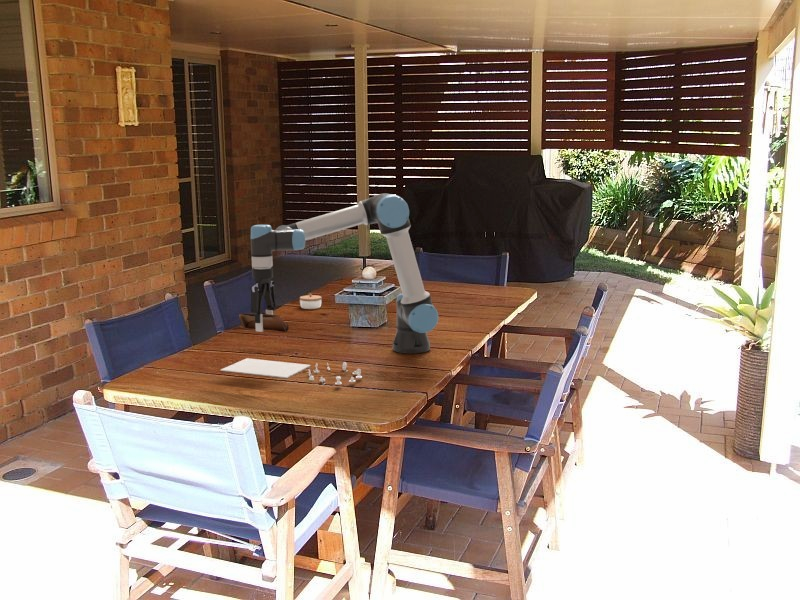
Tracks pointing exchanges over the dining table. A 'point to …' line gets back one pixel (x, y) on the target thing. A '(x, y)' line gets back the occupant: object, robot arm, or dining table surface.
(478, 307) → the dining table surface
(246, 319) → the sunglasses case
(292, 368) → the rubber mat
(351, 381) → the game piece set
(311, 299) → the lidded jar
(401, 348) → the robot arm
